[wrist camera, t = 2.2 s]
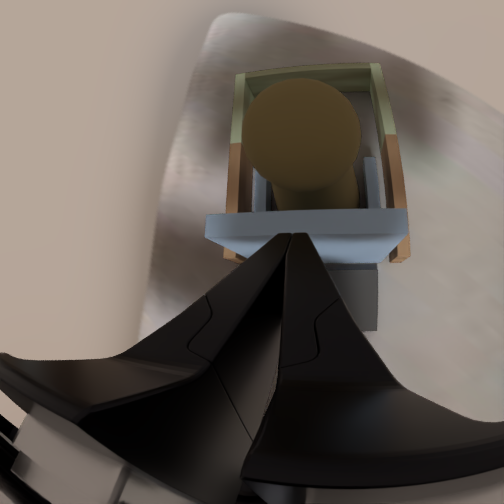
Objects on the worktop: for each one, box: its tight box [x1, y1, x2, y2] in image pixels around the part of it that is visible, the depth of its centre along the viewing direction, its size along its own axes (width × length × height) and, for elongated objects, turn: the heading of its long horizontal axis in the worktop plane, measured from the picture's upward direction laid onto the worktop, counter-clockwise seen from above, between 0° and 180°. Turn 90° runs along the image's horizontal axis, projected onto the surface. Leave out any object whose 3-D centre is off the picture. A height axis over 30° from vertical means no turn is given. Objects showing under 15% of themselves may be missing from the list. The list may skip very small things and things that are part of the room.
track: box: [223, 63, 410, 264], centre depth 20 cm, size 15×11×3 cm
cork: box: [241, 78, 361, 211], centre depth 16 cm, size 6×6×11 cm
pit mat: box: [328, 270, 378, 331], centre depth 20 cm, size 4×8×1 cm, turn 89°
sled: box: [205, 157, 409, 263], centre depth 17 cm, size 7×8×9 cm
